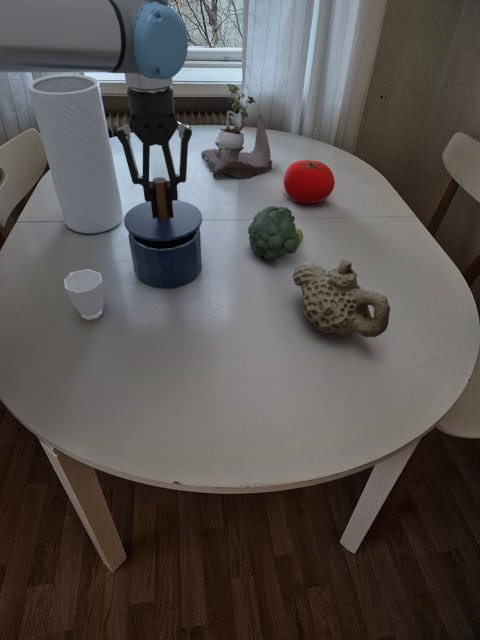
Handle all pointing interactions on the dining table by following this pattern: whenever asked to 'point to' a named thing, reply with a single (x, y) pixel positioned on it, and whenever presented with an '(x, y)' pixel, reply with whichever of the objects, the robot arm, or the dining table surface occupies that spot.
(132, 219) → the pot lid
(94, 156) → the vase
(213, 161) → the potted plant
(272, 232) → the vegetable
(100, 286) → the cup
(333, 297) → the teapot
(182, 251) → the pot
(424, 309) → the dining table surface
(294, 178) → the tomato
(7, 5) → the robot arm
